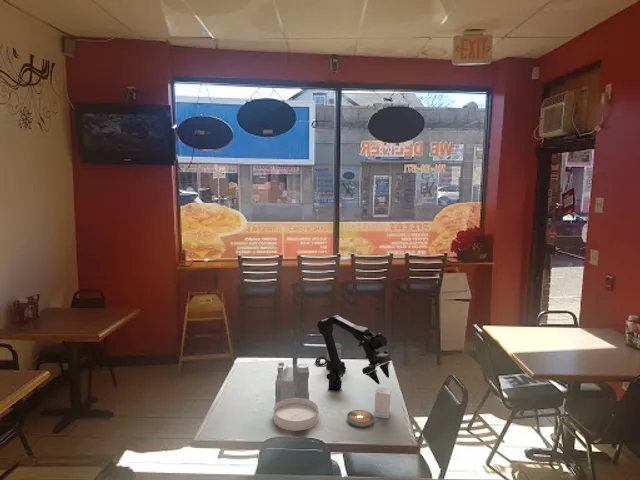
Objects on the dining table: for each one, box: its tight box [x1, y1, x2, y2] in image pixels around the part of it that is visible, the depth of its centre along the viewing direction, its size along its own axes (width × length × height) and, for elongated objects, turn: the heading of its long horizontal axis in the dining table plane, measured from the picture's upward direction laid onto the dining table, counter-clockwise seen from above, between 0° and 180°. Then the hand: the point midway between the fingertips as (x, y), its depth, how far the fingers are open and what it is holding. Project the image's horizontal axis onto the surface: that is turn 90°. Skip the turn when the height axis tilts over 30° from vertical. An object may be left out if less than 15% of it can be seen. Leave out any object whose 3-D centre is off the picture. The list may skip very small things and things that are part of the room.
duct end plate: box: [346, 409, 375, 429], centre depth 223 cm, size 13×13×2 cm
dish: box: [272, 397, 320, 432], centre depth 223 cm, size 22×22×5 cm
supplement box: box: [373, 386, 392, 419], centre depth 228 cm, size 7×7×13 cm
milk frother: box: [314, 342, 342, 372], centre depth 281 cm, size 14×16×15 cm
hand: (383, 380), depth 233 cm, fingers open, 9 cm apart
